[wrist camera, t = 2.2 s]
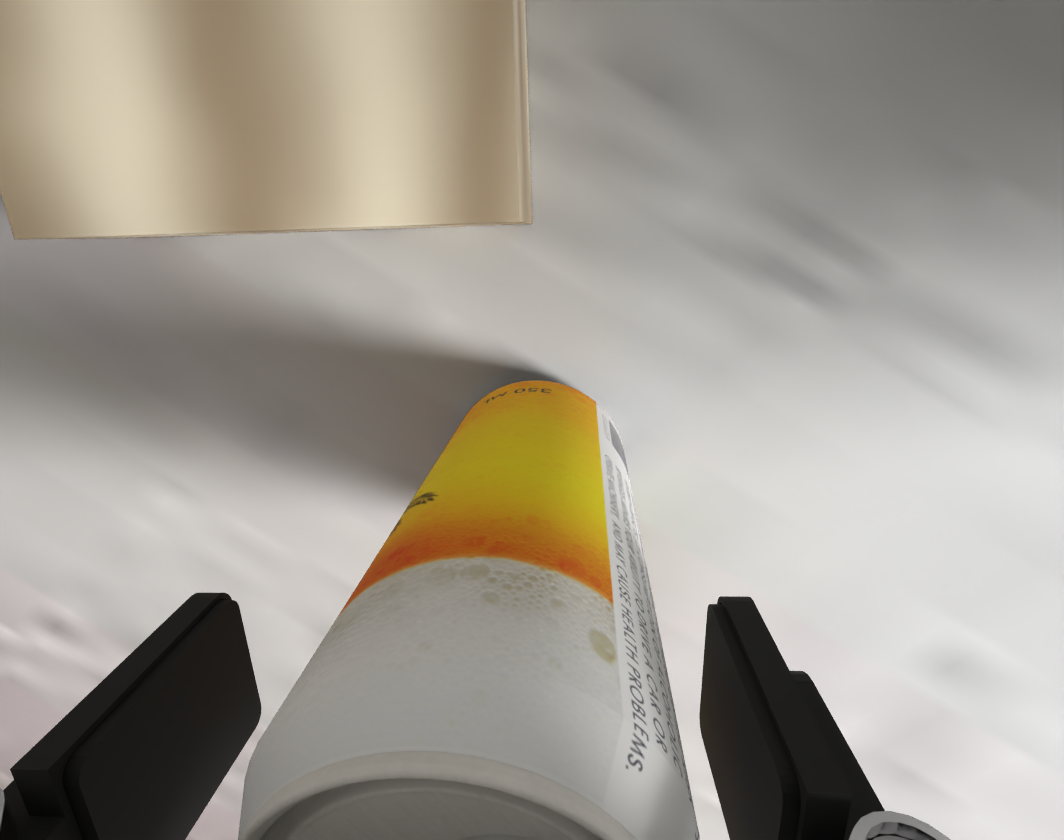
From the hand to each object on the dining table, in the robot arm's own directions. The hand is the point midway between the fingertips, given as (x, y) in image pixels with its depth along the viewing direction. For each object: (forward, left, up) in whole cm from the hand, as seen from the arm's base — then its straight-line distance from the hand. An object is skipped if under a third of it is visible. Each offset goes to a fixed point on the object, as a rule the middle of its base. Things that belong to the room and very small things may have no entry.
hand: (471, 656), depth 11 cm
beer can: (-1, 0, -10) cm, 10 cm away
